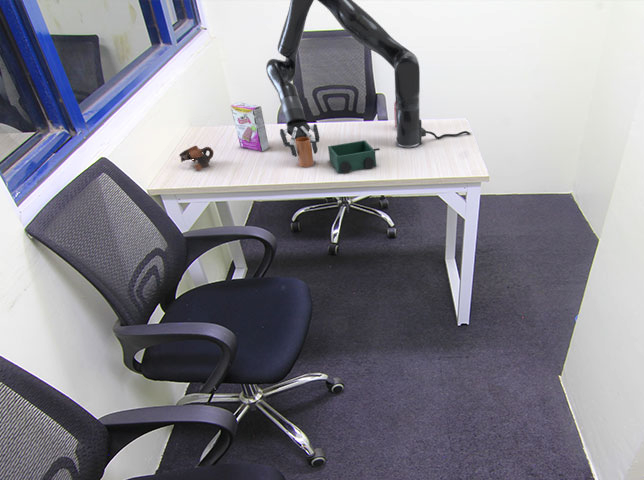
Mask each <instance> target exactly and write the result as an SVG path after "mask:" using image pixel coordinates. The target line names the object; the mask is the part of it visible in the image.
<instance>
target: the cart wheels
mask: <svg viewBox="0 0 644 480" xmlns="http://www.w3.org/2000/svg"><path fill="white" fill-rule="evenodd" d="M373 149H374V150H375V152H376V151H380V150H381V148H380V147H377V148H373ZM374 165H375V161H374V160H373V159H372V158H370V157H369V158H366V159H365V161H364V166H365V167H366V168H365V169H368V170H371V169H373V168H375V167H374ZM351 168H352V167H351V164H350V163H349V162H343V163H342V164H341V166H340V169H341V171H342V172H343V173H344V174H349V173H350V172H352V171H351ZM343 173H342V174H343Z"/></svg>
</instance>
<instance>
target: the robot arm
mask: <svg viewBox="0 0 644 480" xmlns="http://www.w3.org/2000/svg"><path fill="white" fill-rule="evenodd" d="M314 1H315V0H290V3H289V7H288V11H287V15H286V17H285V20H284V24H283V27H282V31H281V33H280V37H279V39H278V44H277V52H278V53H279V54H280V55H281V56H283V57H284V58H285V60H282V59H277V58H270V59H269V60H268V61H267V63H266V66H265V67H266V68H265V69H266V74H267V78H268V80H269V81H270V83H271V84H272V86H273V88H274V90H275V91H276V93H277V96H278V99H279V102H280V106H281V107H280V108H281V111H282V112H281V113H282V115H283V118H284V122H285V124H286V129H283V128H280V130H279V135H280V138H281V140H282V143H283V146H284V147H285V148H290V152H291V155H292V156H293V157H294V158H298V154H297V149H296V145H295V143H296V142H295V139H296V138H299V137H309V138H310V140H311V147H312V152H313V154H315V155H316V154H317V152H318V151H319V149H318V145H317V143H319V142H320V133H319V128H318V125H317V124H316V123H314V124H313V125H310V124H308V121H307V118H306V114H305V111H304V108H303V104H302V102H301V99H300V97H299V94H298V90H297V87H296V85H294V83H292V82H293V81H294V79H295V78H296V74H297V60H298V58H297V57H298V52H299V49H300V46H301V43H302V39H303V35H304V32H305V31H304V30H305V26H306V22H307V17H308V14H309V11H310V9H311V7H312V5H313V3H314ZM317 2H319V3H320V4H321V5H323V6H324V7H325V8H326V9H327V10H328V11H329V12H330V14H331V15H332V16H333V17H334V18H335V20H336V21H337V22H338V24H339V25H340V26H341V28H343V30H344V31H345V32H346V33H347V34H348V35H349V36H351V38H353V39H354V40H355V41H357V42H358V43H359V44H361V45H362V46H364V47H365V48H367V49H369V50H371V51H373V52H374V53H376V54H377V55H379V56H381V58H383V59H384V60H385V61H386V62H387V64H389V65H390V67H392V69H393V70H394V71H393V72H394V94H395V99H396V100H395V101H396V124H397V128H396V145H397V146H398V147H400V148H405V149H410V148H411V149H412V148H416V147H418V146H421V145H422V143H423V141H422V140H423V139H422V138H423V137H426V136H427V134H428V135H429V134H430V135H432V136H433V137H434V138H435V139H436V140H440V139H442V138H444V137H458V136H461V135H463V134H467V135H471V133H470V132H469V131H467V130H463V131H461V132H458V133H443V134H441V135H440V136H437V135H436V133H435V132H433V131H430V130H426V129H425V128H424V127H423V126H422V124H423V123H422V119H420V118H421V117H420V92H421V90H420V89H421V88H420V87H421V86H420V85H421V83H420V82H421V78H420V77H421V76H420V75H421V74H420V73H421V72H420V71H421V70H420V63H419V62H420V61H419V59H418V57H417V56H416V55H415V53H413V52H412V51H411V50H409V49H408V48H406V47H405V46H403V45H402V44H401V43H400V42H398V41H397V40H395V39H394V38H393V37H392V36H391V35H390V34H389V33H388V32H387V30H385V28H384V27H382V26H381V24H379V22H377V21H376V20H375V18H373V17H372V16H371V15H370V14H369V13H368V12H367V11H366V10H365V9H363V8H362V7H361V6H360V5H358V3H356V2H355V1H354V0H317ZM310 130H311V132H312V133H313V134H314V135H312V134H311V132H310ZM287 134H288V135H289V136H291V137H290V140H289V141H288V139H287Z"/></svg>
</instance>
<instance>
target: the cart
mask: <svg viewBox="0 0 644 480" xmlns="http://www.w3.org/2000/svg"><path fill="white" fill-rule="evenodd" d="M374 149H375V148H373V147H372V146H371V145H370V144H369V142H368V141H366V140H365V139H364V140H358V141H352V142H346V143H340V144H334V145H328V146H327V150H328V158H329V163H330V164H331V165H332V167H333V168H334V170H336V172H337V173H338V174H343V172H342V171H341V169H340V166H341V164H342V163H343V162H349V163H350V164H351V167H352V168H351V171H350V172H353V171H358V170H364V169H367V168H366V167H365V166H364V161H365V159H366V158H369V157H370V158H372V159H373V160H374V161H375V165H374V167H373V168H375V167H377V158H376V157H377V155H376V151H375V150H374Z"/></svg>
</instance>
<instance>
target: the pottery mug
mask: <svg viewBox="0 0 644 480" xmlns="http://www.w3.org/2000/svg"><path fill="white" fill-rule="evenodd" d="M207 152H209V154H208V155H207ZM214 154H215V153H214V150H213V149H212V148H211V146H205V147H203V148H199V147H198V145H193V146H191V147H189V148H187V149H185V150H184V151H183V150H182V152H181V153H179V157H180V162H181V163H183V162H185V161H190V160H191V161H192V162H193V163H195V162H197V163H196V164H194V165H193V166H194V168H195V169H196V171H197V172H199V171H200V170H202V169H205V168H208V167H210V163H211V162H210V161H211V159H212V158H213V157H214ZM192 159H194V160H192Z"/></svg>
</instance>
